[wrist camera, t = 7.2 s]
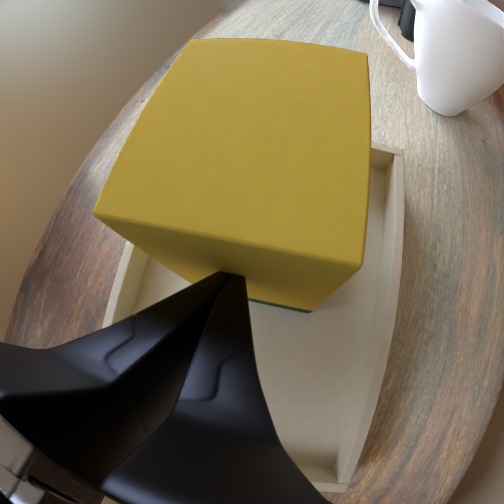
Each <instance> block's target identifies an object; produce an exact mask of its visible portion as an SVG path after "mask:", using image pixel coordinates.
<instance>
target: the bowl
mask: <svg viewBox="0 0 504 504" xmlns="http://www.w3.org/2000/svg"><path fill="white" fill-rule="evenodd" d="M366 1H370V0H366ZM378 3H379V4H384V5H389V6H395V7H401V8H402V4H403V0H379V1H378Z"/></svg>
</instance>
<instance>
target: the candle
mask: <svg viewBox="0 0 504 504" xmlns="http://www.w3.org/2000/svg"><path fill="white" fill-rule="evenodd" d="M415 17H416V9H415V7H414V6H413V4H412V3H411V1H410V0H403V4H402V8H401V12H400V16H399V21H398V26H400V29H401V31H402V33H401V34H402V36H403V37H405V38H406V39H408V40H410V41H413V42H414V26H415Z"/></svg>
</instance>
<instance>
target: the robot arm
mask: <svg viewBox="0 0 504 504" xmlns="http://www.w3.org/2000/svg"><path fill="white" fill-rule="evenodd" d="M104 496H106V497H108V498H110V499H112V500H113V501H115V502H117V503H119V504H333V503H331V502H330V501H328V500H327V499H325V498H324V497H323V496H322V495H321V494H320V493H319V492H318V490H317V489H316V488H315V487H314V486H313V484H312V483H311V482H310V481H309V480H308V479H307V477H306V476H305V475H304V474H303V472H302V471H301V470H300V469H299V467H298V466H297V465H296V464H295V462H294V461H293V460H292V459H291V457H290V456H289V455H288V454H287V452H286V451H285V449H284V448H283V446H282V444H281V442H280V439H279V437H278V435H277V432H276V429H275V427H274V424H273V421H272V418H271V415H270V412H269V409H268V406H267V402H266V399H265V396H264V393H263V390H262V386H261V383H260V379H259V375H258V370H257V364H256V358H255V350H254V343H253V335H252V327H251V318H250V310H249V302H248V293H247V285H246V278H245V276H241V275H236V274H231V273H227V272H223V271H218V272H216V273H214V274H212V275H210V276H208V277H206V278H204V279H202V280H200V281H198V282H196V283H194V284H192V285H190V286H188V287H186V288H184V289H182V290H180V291H178V292H176V293H174V294H172V295H170V296H168V297H166V298H164V299H162V300H160V301H158V302H156V303H154V304H152V305H150V306H149V307H147V308H145V309H143V310H141V311H139V312H137V313H135V315H134V314H133V315H131V316H129V317H127V318H125V319H123V320H120V321H118V322H116V323H114V324H112V325H110V326H108V327H105V328H103V329H100V330H98V331H96V332H93V333H91V334H88V335H85V336H83V337H80V338H78V339H75V340H72V341H70V342H67V343H65V344H62V345H59V346H56V347H53V348H49V349H31V348H26V347H21V346H16V345H12V344H7V343H3V342H0V504H101V502H102V500H103V498H104Z"/></svg>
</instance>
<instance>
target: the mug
mask: <svg viewBox="0 0 504 504" xmlns="http://www.w3.org/2000/svg"><path fill="white" fill-rule="evenodd" d="M378 1H379V0H370V14H371V17H372V20H373V23H374V25H375V26H376V28H377V30H378V31H379V33H380V34H381V35H382V37H383V38H384V39H385V41H386V42H387V43H388V44H389V45H390V47H391V48H392V49H393V50H394V52H395V53H396V54H397V55H398V56H399V58H400V59H401V60H402V61H403V62H404V63H405V65H406V66H407V67H408V68H410V69H411V70H412V71H413V72H415V73H416V74H417V89H418V94H419V96H420V98H421V99H422V101H423V102H424V103H425V104H426V105H427V106H428V107H429V108H431V109H432V110H434V111H435V112H437V113H439V114H441V115H444V116H448V117H453V116H456V115H457V114H459V113H461V112H463V111H464V110H466V109H468V108H469V107H471V106H473V105H475V104H476V103H478V102H480V101H482V100H483V99H485V98H487V97H488V96H490V95H491V94H493V93H494V92H495V91H496V90H497V89H499V88H500V86H501V85H502V84H503V83H504V13H503V12H502V11H501V10H500V9H498V8H497V7H496V6H494V5H493V4H491V3H490V2H488V1H487V0H410V1H411V3H412V4H413V6H414V7H415V9H416V17H415V26H414V46H415V60H412V59H410V58H408V57H407V56H406V55H405V53H404V52H403V51H402V50H401V48H400V47H399V46H398V45H397V43H396V42H395V41H394V40H393V38H392V37H391V36H390V34H389V33H388V32H387V30H386V29H385V28H384V26H383V25H382V23H381V21H380V19H379V16H378Z"/></svg>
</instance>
